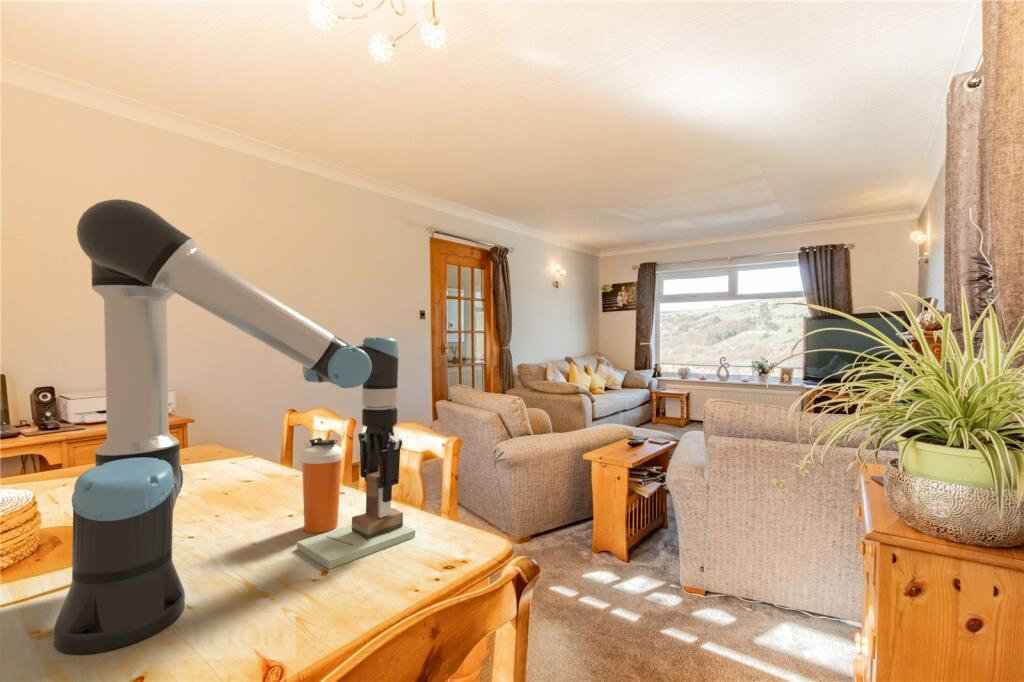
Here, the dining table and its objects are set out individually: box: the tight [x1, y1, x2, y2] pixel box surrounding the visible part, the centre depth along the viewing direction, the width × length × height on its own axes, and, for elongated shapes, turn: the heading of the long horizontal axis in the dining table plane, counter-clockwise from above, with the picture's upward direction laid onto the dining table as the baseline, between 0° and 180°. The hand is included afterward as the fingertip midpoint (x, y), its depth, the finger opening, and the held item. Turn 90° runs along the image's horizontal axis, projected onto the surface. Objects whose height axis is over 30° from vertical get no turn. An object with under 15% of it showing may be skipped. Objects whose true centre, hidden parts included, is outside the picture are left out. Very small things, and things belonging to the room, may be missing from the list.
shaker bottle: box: [300, 437, 344, 534], centre depth 109 cm, size 9×9×20 cm
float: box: [351, 470, 404, 539], centre depth 104 cm, size 9×6×12 cm, turn 140°
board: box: [296, 524, 416, 570], centre depth 100 cm, size 20×13×2 cm, turn 139°
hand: (378, 513), depth 104 cm, fingers closed on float, 4 cm apart
